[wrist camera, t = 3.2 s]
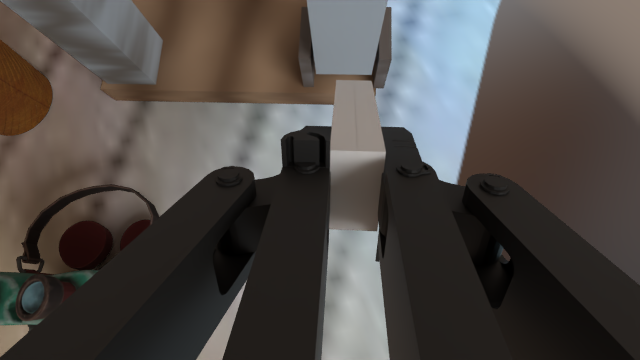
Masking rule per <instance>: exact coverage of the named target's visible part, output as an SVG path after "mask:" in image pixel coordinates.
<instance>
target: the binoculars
mask: <svg viewBox="0 0 640 360" xmlns="http://www.w3.org/2000/svg"><path fill="white" fill-rule="evenodd" d="M114 190H122V191H127V192H132V193H135V194H136V195H137V196H139V197H140V198H141V199H142V200H143V201H144V202H146V204H147V206H148V209H149V211H150V213H151V220H140V221H137V222H135V223H133V224H132V225H131V226H130V227H128V229H127V230H126V231H125V233H124V234H123V236H122V239H121V244H120V251H122V250H123V249H124V248H125V247H126V246H127V245H128V244H130V243H131V242H132V241H133V240H134V239H135V238H136V237H137V236H139V235H140V234H141V233H142V232H143V231H144V230H145V229H147V228H148V227H149V226H150V225H151V224H152V223H153V222H154V221H156V220H157V219H158V218H159V215H158V213H157V211H156V208H155V206H154V205H153V204H152V203H151V202H150V201H148V200H147V199H146V198H145V197H144V196H142V195H141V194H140V193H139V192H137V191H135V190H134V189H132V188H128V187H123V186H117V185H112V184H111V185H101V186H93V187H89V188H84V189H80V190H77V191H75V192H72V193H70V194H67V195H65V196H62V197H60V198H59V199H58V200H56V201H55V202H54V203H52V204H51V205H50V206H48V207H47V208H46V209H44V210H43V211H41V213H40V214H39V215H38V217H37V218H36V219H35V221H34V222H33V223H32V224H31V226H30V227H29V228H28V231H27V234H26V238H25V241H24V242H23V243H21V244H22V245H23V248H24V253H23V256H19V257H17V259H16V261H17V267H18V270H19V272H20V273H16V272H0V325H27V324H28V327H29V331H28V333H29V332H30V331H31V330H32V329H33V328H34V327H35V326H36V325H38V324H39V323H40V322H41V321H42V320H43V319H44V318H46V317H47V316H48V315H49V314H50V313H51V312H52V311H53V310H55V309H56V308H57V307H58V306H59V305H60V304H61V303H63V302H64V301H65V300H66V299H67V298H68V297H69V296H71V295H72V294H73V293H74V292H75V291H76V290H77V289H78V288H80V287H81V286H82V285H83V284H84V283H85V282H86V281H88V280H89V279H90V278H91V277H92V276H93V275H94V274H95V273H97V272H98V271H99V270H91V269H93V268H95V267H96V266H98V265H99V264H100V263H101V262H102V261H103V260H104V259H105V258H106V257H107V256H108V254H109V252H110V251H111V248H112V245H113V238H112V235H111V233H110V231H109V230H108V229H107V228H105V227H104V226H102V225H100V224H98V223H96V222H93V221H82V222H79V223H76V224H74V225H72V226H71V227H70V228H68V229H67V230H66V231H65V232H64V234H63V235H62V237H61V240H60V243H59V252H60V256H61V258H62V260H63V261H64V263H65V264H66V265H68V266H69V267H71V268H74V269H78V270H79V271H73V272H67V273H61V274H46V273H40V272H41V271H42V268H43V265H44V260H43V259H41V258H40V253H39V250H38V246H37V244H38V240H39V237H40V233H41V231H42V230H43V228H44V227H45V226H46V224H47V223H48V222H49V220H50V219H51V218H52V216H53V215H55V214H56V213H57V212H59V211H60V210H61V209H63V208H64V207H65V206H67V205H68V204H69V203H71V202H73V201H75V200H77V199H80V198H82V197H85V196H87V195H91V194H95V193H99V192H104V191H114ZM21 259H22V262H23V263H30V264H39V262H40V265H39V268H38V270H37V271H35V270H29V269H24V270H23V269H22V264H21Z"/></svg>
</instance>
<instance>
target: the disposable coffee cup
mask: <svg viewBox="0 0 640 360" xmlns="http://www.w3.org/2000/svg"><path fill="white" fill-rule="evenodd" d="M51 102H52V88H51V85H50V83H49V81H48V79H47V78H46V77H45V76H44V75H43V74H41V73H40V72H39V71H38V70H36V69H35V68H34V67H33V66H32V65H30V64H29V63H28V62H27V61H26V60H24V59H23V58H22V57H21V56H20V55H18V54H17V53H16V52H15V51H14V50H12V49H11V48H10V47H9V46H8V45H6V44H5V43H4V42H3V41H2V40H0V134H1V135H6V136H10V135H18V134H22V133H24V132H27V131H29V130H30V129H32V128H34V127H35V126H36V125H37V124H38V123H40V122H41V121H42V119H43V118H44V117H45V115H46V114H47V112H48V111H49V108H50V105H51Z"/></svg>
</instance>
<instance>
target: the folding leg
mask: <svg viewBox="0 0 640 360" xmlns="http://www.w3.org/2000/svg"><path fill="white" fill-rule="evenodd" d="M387 1H388V0H307V7H308V14H309V22H310V30H311V38H312V45H313V53H314V61H315V69H316V74H347V75H372V70H373V66H374V61H375V56H376V52H377V47H378V43H379V38H380V33H381V29H382V24H383V20H384V15H385V10H386V6H387Z"/></svg>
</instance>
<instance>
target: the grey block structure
mask: <svg viewBox="0 0 640 360" xmlns="http://www.w3.org/2000/svg"><path fill="white" fill-rule="evenodd" d="M0 1H1V2H2V3H4V4H5V5H6V6H8V7H9V8H10V9H11V10H13V11H14V12H15V13H17V14H18V15H19V16H21V17H22V18H23V19H24V20H26V21H27V22H28V23H30V24H31V25H32V26H33V27H35V28H36V29H37V30H39V31H40V32H41V33H43V34H44V35H45V36H46V37H48V38H49V39H50V40H52V41H53V42H54V43H56V44H57V45H58V46H59V47H61V48H62V49H63V50H65V51H66V52H67V53H68V54H70V55H71V56H72V57H74V58H75V59H76V60H78V61H79V62H80V63H81V64H83V65H84V66H85V67H87V68H88V69H89V70H91V71H92V72H93V73H94V74H96V75H97V76H98V77H100V78H101V79H102V85H101V90H102V91H104V92H105V93H106V94H108V95H109V96H111V97H112V98H113V99H115V100H122V101H174V102H226V103H278V104H330V105H334V99H335V89H336V80H361V81H372V85H373V90H374V95H376V88H384V85H385V81H386V77H387V74H388V70H389V67H390V63H391V7H386V10H385V15H384V20H383V24H382V29H381V33H380V38H379V43H378V47H377V52H376V56H375V61H374V66H373V70H372V75H347V74H316V69H315V61H314V53H313V45H312V38H311V30H310V22H309V14H308V7H307V0H0Z"/></svg>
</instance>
